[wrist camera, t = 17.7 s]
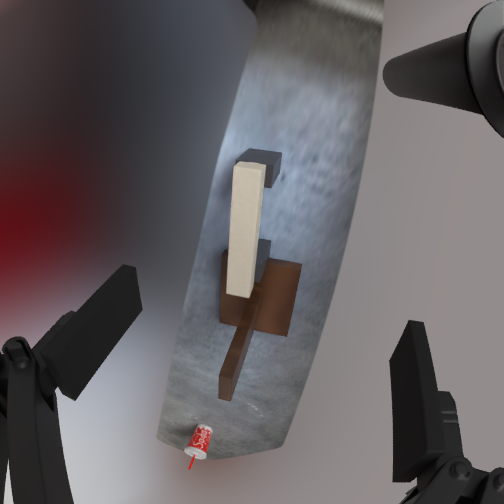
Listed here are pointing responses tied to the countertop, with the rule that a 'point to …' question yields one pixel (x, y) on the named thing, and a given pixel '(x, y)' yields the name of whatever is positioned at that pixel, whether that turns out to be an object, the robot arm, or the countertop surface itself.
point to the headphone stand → (255, 314)
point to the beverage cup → (199, 442)
